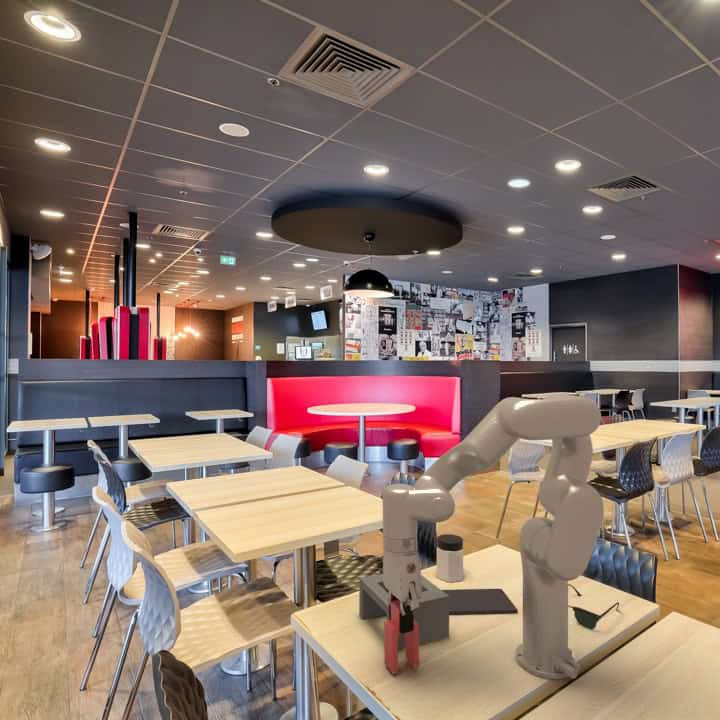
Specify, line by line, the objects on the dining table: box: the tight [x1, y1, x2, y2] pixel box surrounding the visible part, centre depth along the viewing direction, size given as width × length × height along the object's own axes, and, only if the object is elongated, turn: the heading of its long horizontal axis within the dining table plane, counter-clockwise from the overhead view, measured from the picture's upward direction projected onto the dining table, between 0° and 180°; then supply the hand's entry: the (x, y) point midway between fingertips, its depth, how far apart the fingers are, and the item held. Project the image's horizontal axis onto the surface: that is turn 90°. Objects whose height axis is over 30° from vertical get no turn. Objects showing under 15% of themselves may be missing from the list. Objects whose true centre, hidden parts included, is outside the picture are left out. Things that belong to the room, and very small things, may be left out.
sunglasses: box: [568, 583, 620, 630], centre depth 132 cm, size 16×17×5 cm
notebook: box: [441, 588, 519, 616], centre depth 136 cm, size 13×2×21 cm
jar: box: [436, 533, 464, 583], centre depth 154 cm, size 9×8×12 cm
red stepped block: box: [383, 600, 420, 675], centre depth 107 cm, size 4×6×13 cm, turn 114°
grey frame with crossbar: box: [358, 573, 450, 651], centre depth 124 cm, size 18×16×10 cm
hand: (401, 625), depth 107 cm, fingers closed on red stepped block, 4 cm apart
